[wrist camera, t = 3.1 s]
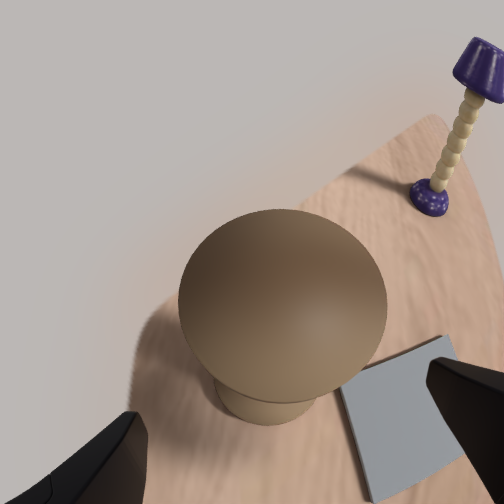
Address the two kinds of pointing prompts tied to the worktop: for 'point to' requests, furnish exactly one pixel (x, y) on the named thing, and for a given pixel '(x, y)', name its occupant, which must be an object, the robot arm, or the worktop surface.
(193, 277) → the walnut stool
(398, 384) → the grey mat
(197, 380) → the worktop surface
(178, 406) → the worktop surface
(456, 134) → the toy lamp
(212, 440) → the worktop surface
